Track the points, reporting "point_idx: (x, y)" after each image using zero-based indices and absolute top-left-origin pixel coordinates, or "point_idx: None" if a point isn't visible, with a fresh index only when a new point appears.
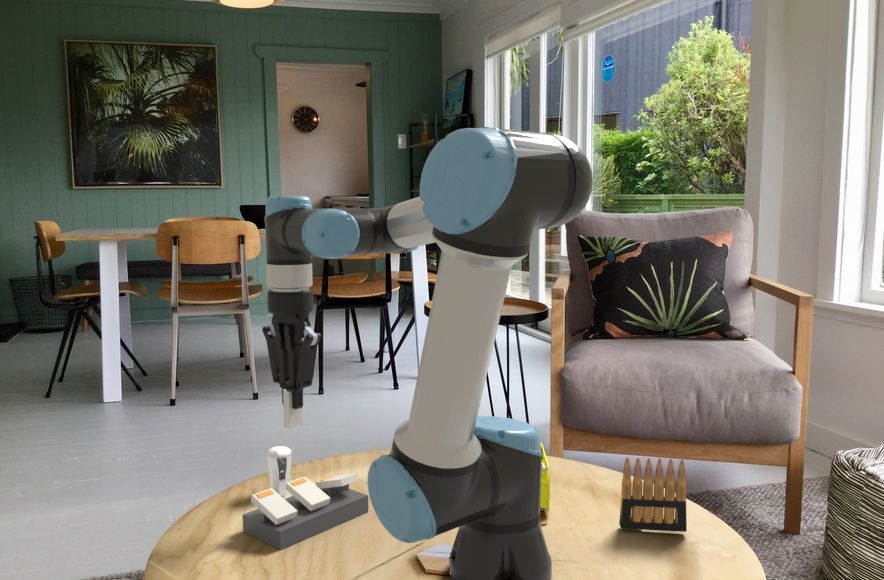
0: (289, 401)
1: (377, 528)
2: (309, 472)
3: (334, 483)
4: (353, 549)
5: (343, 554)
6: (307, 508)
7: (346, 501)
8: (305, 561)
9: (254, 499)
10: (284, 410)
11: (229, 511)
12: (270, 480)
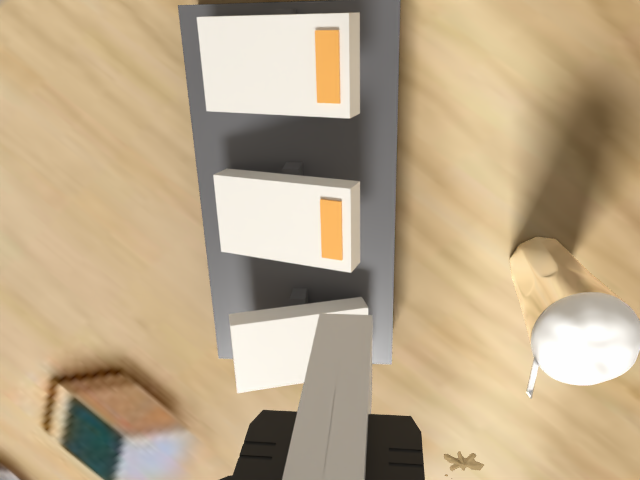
0: (294, 431)
1: (131, 276)
2: (600, 423)
3: (266, 314)
4: (66, 151)
5: (58, 113)
6: None
7: (226, 293)
8: (86, 10)
9: (331, 13)
10: (358, 376)
11: (581, 68)
12: (570, 257)
